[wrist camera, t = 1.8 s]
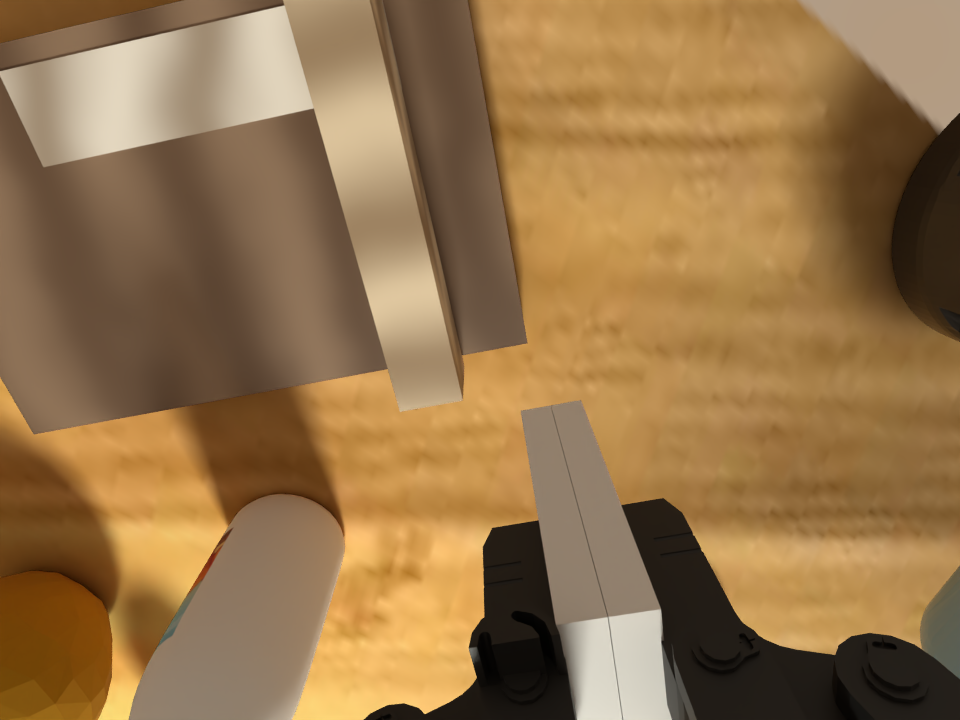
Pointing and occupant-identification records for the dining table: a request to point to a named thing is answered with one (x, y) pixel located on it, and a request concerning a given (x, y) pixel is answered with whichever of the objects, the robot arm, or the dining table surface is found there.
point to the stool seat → (218, 209)
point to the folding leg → (381, 192)
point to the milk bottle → (248, 619)
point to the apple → (52, 649)
